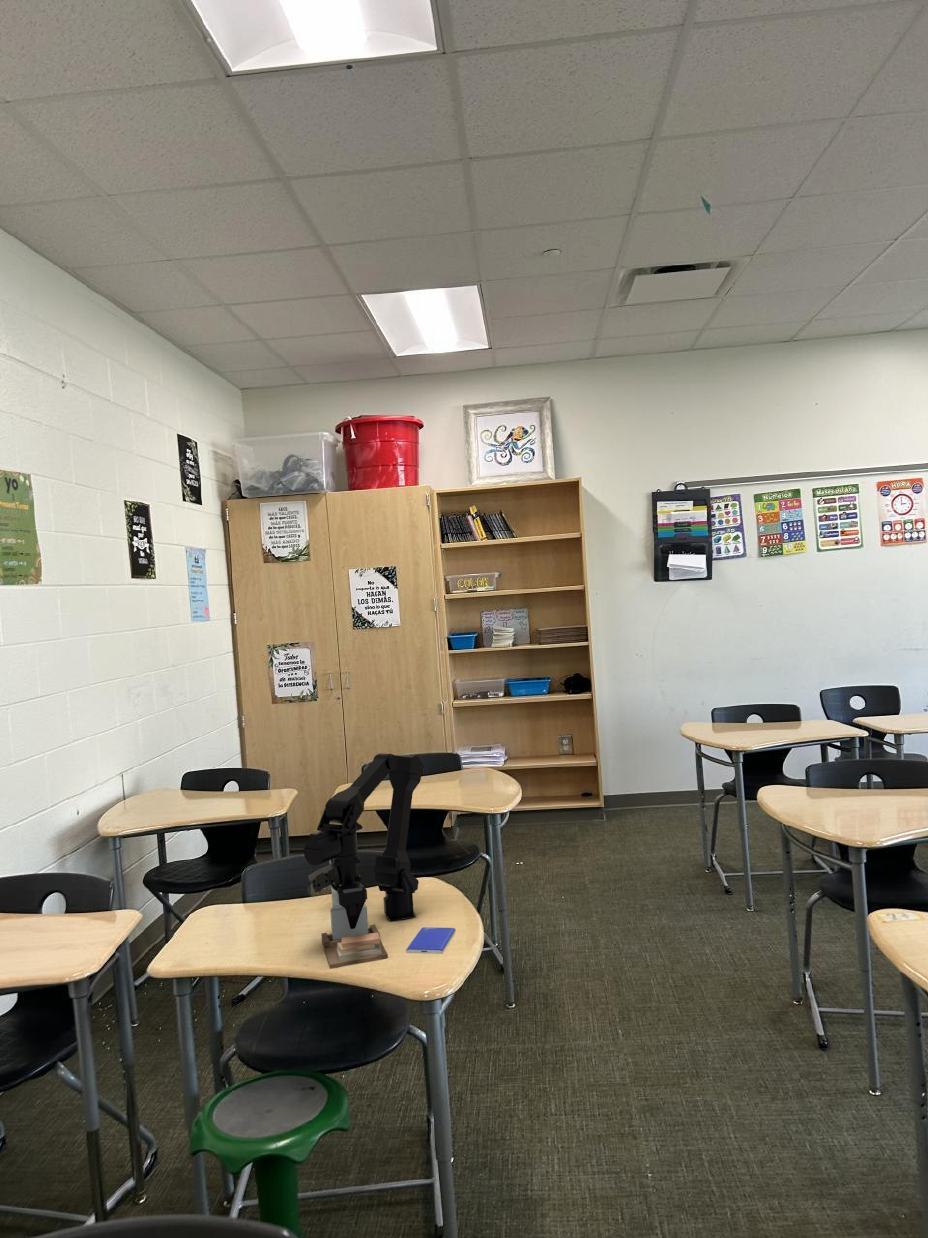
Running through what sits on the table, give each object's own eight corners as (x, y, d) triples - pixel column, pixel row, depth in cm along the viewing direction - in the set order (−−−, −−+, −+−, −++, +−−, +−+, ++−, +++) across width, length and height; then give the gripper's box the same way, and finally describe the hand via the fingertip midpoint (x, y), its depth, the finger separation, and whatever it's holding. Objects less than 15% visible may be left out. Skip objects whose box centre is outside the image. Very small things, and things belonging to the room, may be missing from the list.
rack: (375, 933, 189) (374, 924, 189) (387, 958, 174) (387, 947, 174) (322, 943, 185) (321, 933, 185) (329, 968, 171) (329, 958, 171)
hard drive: (421, 927, 188) (405, 948, 176) (455, 927, 187) (442, 949, 174) (421, 934, 188) (406, 955, 176) (455, 934, 187) (442, 956, 174)
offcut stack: (378, 945, 179) (377, 930, 179) (382, 954, 174) (381, 938, 174) (336, 953, 177) (335, 937, 177) (339, 961, 172) (338, 945, 172)
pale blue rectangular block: (367, 938, 186) (365, 903, 187) (369, 942, 184) (366, 906, 184) (332, 944, 184) (330, 909, 184) (333, 948, 182) (331, 912, 182)
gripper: (305, 848, 191) (310, 914, 191) (313, 869, 173) (318, 942, 173) (352, 841, 194) (356, 907, 194) (365, 861, 176) (370, 933, 176)
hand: (349, 921), depth 184 cm, fingers open, 9 cm apart
